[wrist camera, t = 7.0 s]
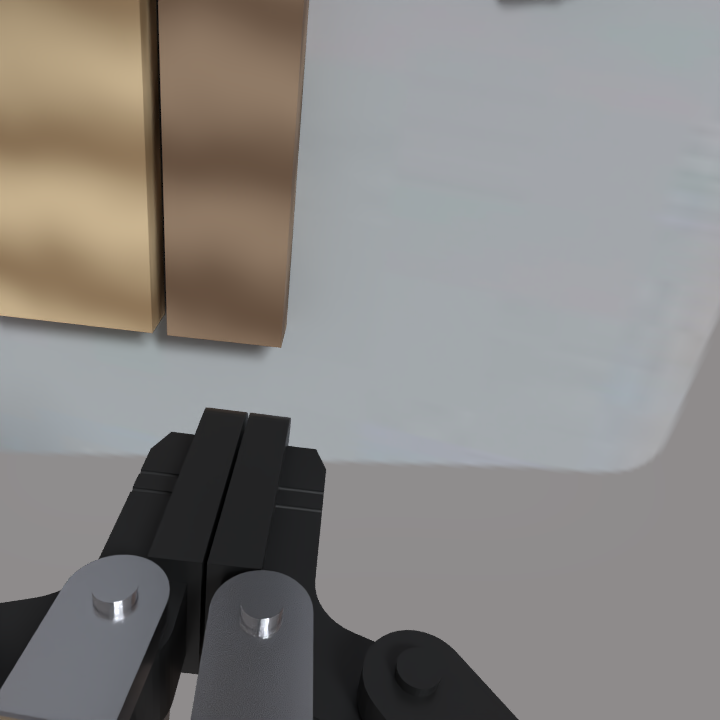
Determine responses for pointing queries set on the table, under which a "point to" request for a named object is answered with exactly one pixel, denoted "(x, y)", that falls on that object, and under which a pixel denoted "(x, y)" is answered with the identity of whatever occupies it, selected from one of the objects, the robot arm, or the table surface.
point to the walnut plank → (230, 163)
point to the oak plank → (80, 163)
